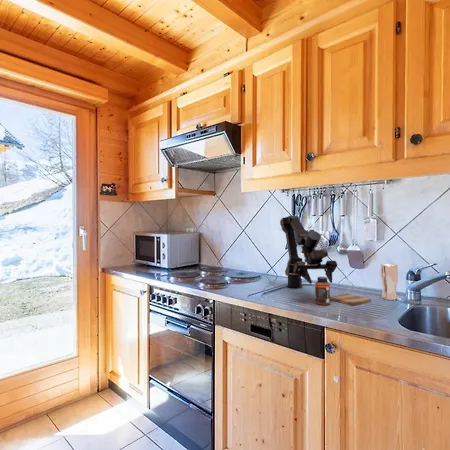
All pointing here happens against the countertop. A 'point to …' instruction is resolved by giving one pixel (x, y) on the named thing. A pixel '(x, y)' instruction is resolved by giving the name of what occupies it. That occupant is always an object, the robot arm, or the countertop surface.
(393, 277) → the beer glass
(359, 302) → the walnut board
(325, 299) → the supplement bottle
